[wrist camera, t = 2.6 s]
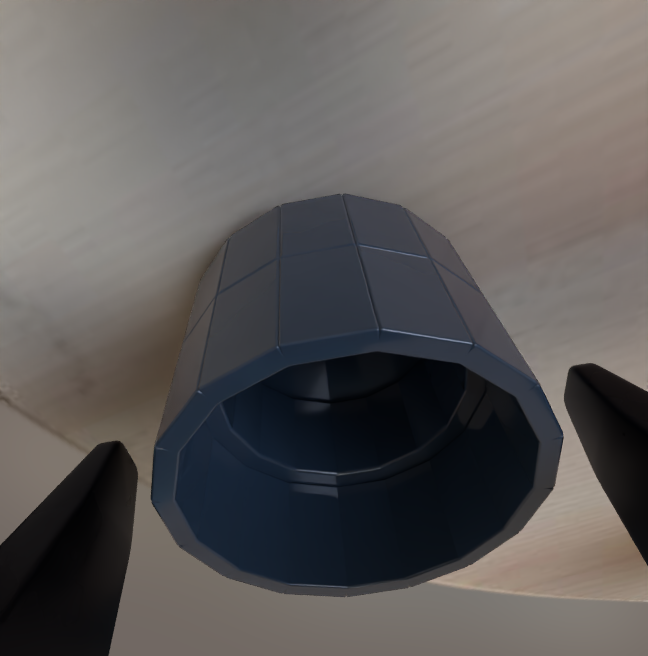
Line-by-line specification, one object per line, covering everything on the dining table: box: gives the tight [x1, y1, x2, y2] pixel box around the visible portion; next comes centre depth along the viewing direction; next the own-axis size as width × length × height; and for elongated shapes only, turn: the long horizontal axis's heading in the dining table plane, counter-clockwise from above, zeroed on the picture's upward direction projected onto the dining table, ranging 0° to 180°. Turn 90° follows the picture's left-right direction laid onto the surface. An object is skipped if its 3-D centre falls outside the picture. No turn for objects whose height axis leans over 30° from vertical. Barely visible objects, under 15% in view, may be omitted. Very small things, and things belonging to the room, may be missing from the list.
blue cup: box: [151, 194, 563, 597], centre depth 11 cm, size 7×7×6 cm
